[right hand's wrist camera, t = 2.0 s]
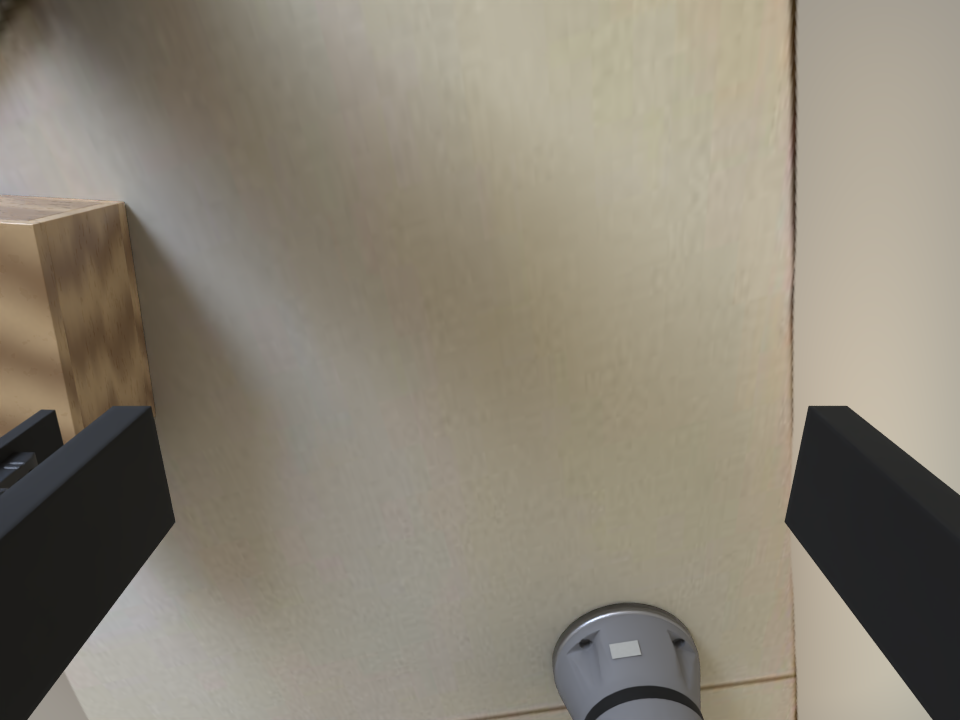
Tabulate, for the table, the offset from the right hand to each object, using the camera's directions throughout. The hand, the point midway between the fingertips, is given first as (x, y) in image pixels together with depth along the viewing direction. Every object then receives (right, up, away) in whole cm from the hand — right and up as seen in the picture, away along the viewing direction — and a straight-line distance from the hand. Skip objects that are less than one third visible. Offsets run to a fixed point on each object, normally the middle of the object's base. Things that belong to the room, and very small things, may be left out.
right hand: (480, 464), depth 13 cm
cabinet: (-34, +6, +41) cm, 54 cm away
